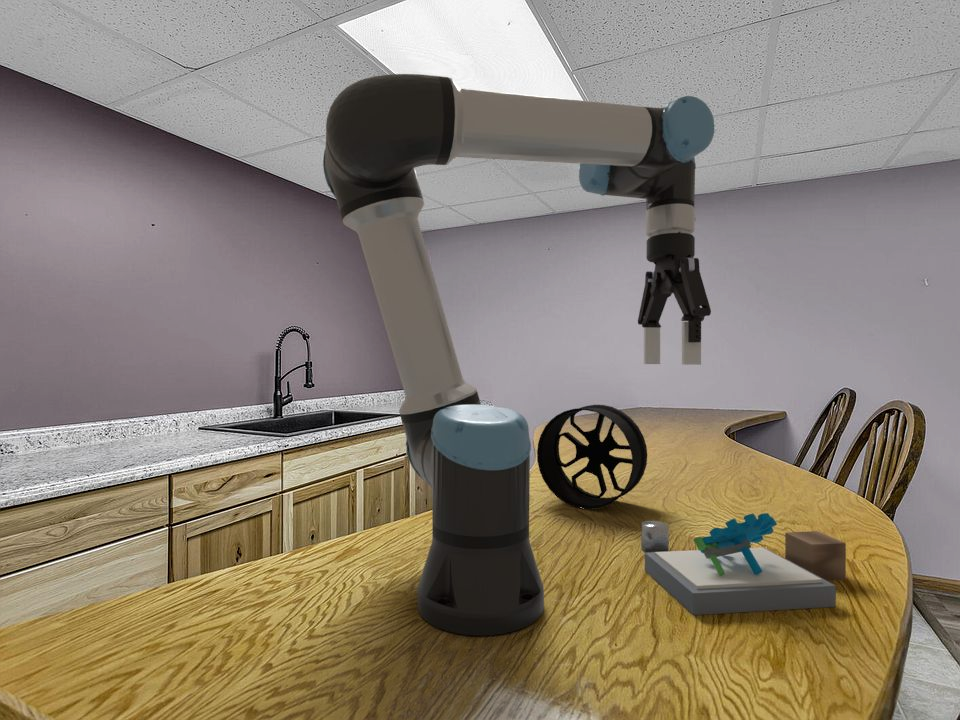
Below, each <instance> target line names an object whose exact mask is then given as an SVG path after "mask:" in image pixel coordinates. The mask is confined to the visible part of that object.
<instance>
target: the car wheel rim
mask: <svg viewBox="0 0 960 720" xmlns="http://www.w3.org/2000/svg"><path fill="white" fill-rule="evenodd" d="M582 411H589V412H592V413H593V412H594V413H597V414H598V418H597V420H596V424H595V428H594V429H591V430H588V431H584V430H583V429H582V428H581V427H580V426H578V425H577V424H576V422H575V415H576V414H578V413H580V412H582ZM605 418H608V419H609V420H610V421H611V423H610V426H609V428H608V431H607V434H606V437H604V439H603V441H602V440H601V435H600V434H601V431H602V427H603V423H604V421H605ZM568 420H570V421H569V422H570V423H569V424H570V425H571V427H573V428H574V429H575V430H576V431H577V432H578V433H580V434H581V435H582V436H583V437H584V438H585V440H586V441H587V442H588V445H587V444H584V443H582V442H581V441H580V440H579V439H578V438H577V437H575V436H574V435H573V434H572V433H570V432H568V431H565V432H562V430H563V427H564V426H565V424H566V422H567V421H568ZM615 425H616V426H617V427H618V428H619V430H620V431H621V432H622V433H623V435H624V437H625V439H626V441H627V443H628V445H626V444H619V443H618V442H617V441H616V440H615V438H614V436H613V433H612V432H613V430H614V427H615ZM561 432H562V433H561ZM562 437H564V438H566V439H567V440H568V441H569V442H571V443H572V444H573V445H574V447H575V457H574V458H573V459H571V460H569V461H567V463H564V462H562V460H561V455H560V440H561V438H562ZM614 450H624V451H625V450H627V451H628V450H630V455H631V458H628V457H620V456H619V457H618V456H614V455H612V454H610V452H612V451H614ZM536 457H537V465H538V470H539V472H540V475H541V478H542V480H543V482H544V483H545V485H546V487H547V488H548V489H549V490H550V491H551V493H552V494H553V495H554V496H555V497H556V498H557V499H559V500H560V501H562V502H563V503H565V504H566V505H569V506H571V507H574V508H576V509H581V508H580V507H582V508H584V509H583V510H591V511H592V510H598V509H603V508H604V507H607V506H609V505H612V504H613V503H614V502H616V501H617V500H619V498H621V497H623V496H624V495H627V494H628V493H629V492H631V491H633V489H634V488H635V487H636V486H637V485H638V484H639V483H640V482H641V480H642V478H643V476H644V474H645V471H646V469H647V464H648V463H647V462H648V448H647V444H646V440H645V436H644V434H643V433H642V431H641V429H640V427H639V426H638V425H637V423H635V421H634V420H633V419H632V418H631V417H630V415H627V413H625V412H623V411H622V410H620V409H618V408H616V407H613V406H610V405H605V404H589V405H585V406H582V407H579V408H572V409H567V410H565V411H562V412H560V413H559V414H556V415H555V416H554V417H553V418H551V419H550V420H549V421H548V423H547V424H546V425H545V426H544V428H543V430H542V431H541V434H540V437H539V439H538V442H537V450H536ZM586 458H587V459H588V461H587V464H586V466H584V467H583V468H582V469H580V470H579V471H577V472H576V473H574V474H573V475H572V476H571V480H570V478H569V476H568V475H567V474H566V473H565V471H564V469H563V468H565V469H566V468H568V467H570V466H572V465H574V464H575V463H576V462H578V461H580V460H582V459H586ZM620 463H621V464H623V463H624V464H629V465H631V472H630V476H629V479H628V481H627V484H626V485H625V487H624V488H623V487H620V486H619V484H618V482H617V479H616V476H615V473H614V471H615V469H616V467H617V466H618V465H619V464H620ZM602 465H603V466H604V467H605V468H606V469H607V471H608V474H609V478H610V481H611V484H612V487H613V489H614V490H616V491H618V492H620V493H619V494H618V495H616V496H610V497H603V496H604V495H605V494H606V492H607V491H608V489H607V486H606V481H605V478H604V477H605V476H604V474H603V470H602ZM585 473H589V474H592V475H593V476H595V477H596V478H597V479H598V480H597V481H598V484H599V488H600V489H599V490H600V493H599V494H598V495H597V494H593V493H591V492H588V491H586V490H584V489H583V488H581V487H580V486H579V485H578V483H577V478H579V477H580V476H582V475H583V474H585ZM581 510H582V509H581Z"/></svg>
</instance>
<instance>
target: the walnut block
mask: <svg viewBox="0 0 960 720" xmlns="http://www.w3.org/2000/svg"><path fill="white" fill-rule="evenodd" d="M784 533H785V536H784V537H785V538H784V540H785V541H784V545H785V547H784V548H785V549H784V550H785V551H784V555H785V557H784V558H785V559H787V560H789V561H791V562H793V563H794V564H796V565H798V566H800V567H802V568H804V569H806V570H808V571H809V572H811V573H813V574H815V575H817V576H819V577H821V578H822V579H824V580H826V581H828V582H830V581H846V579H847V577H846V574H847V572H846V571H847V570H846V567H847V565H846V564H847V563H846V561H847V559H846V558H847V557H846V554H847V553H846V551H847V550H846V548H847V547H846V546H847V545H846V542H844V541H843V540H839V539H837V538H835V537H832V536H830V535H828V534H825V533H823V532H820V531H818V530H816V531H815V530H814V531H811V530H810V531H794V532H793V531H791V532H790V531H789V532H788V531H786V532H784Z"/></svg>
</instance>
